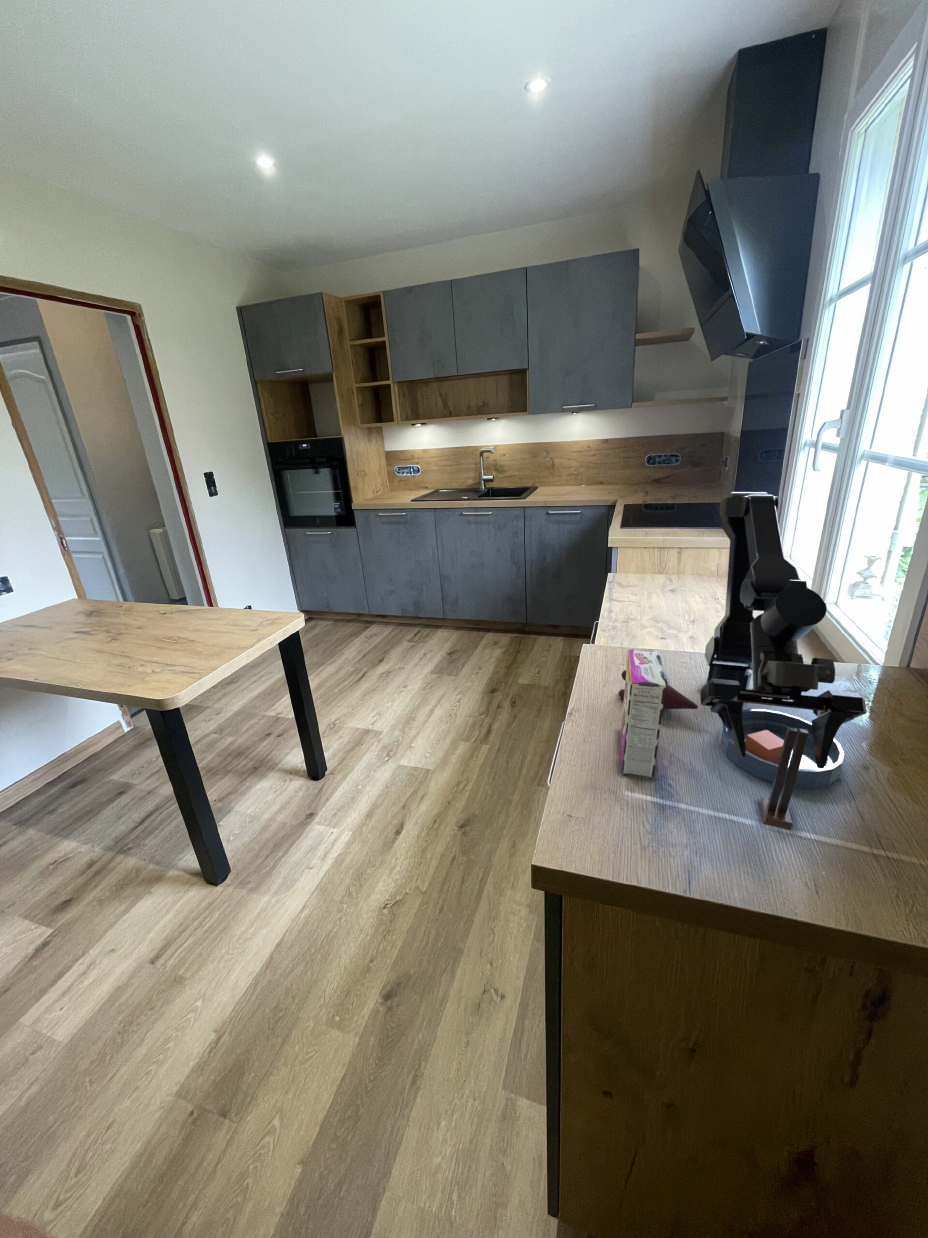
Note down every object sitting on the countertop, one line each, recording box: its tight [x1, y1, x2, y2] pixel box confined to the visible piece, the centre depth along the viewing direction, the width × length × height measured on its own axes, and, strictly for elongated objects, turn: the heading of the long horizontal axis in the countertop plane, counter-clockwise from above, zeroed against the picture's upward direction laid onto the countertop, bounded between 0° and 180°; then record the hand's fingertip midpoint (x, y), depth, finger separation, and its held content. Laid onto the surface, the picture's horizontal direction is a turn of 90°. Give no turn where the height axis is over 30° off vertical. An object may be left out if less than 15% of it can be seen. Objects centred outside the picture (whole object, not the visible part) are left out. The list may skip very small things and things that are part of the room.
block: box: [745, 730, 784, 765], centre depth 75 cm, size 4×4×4 cm
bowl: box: [718, 708, 846, 790], centre depth 77 cm, size 16×16×4 cm
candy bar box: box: [620, 648, 666, 778], centre depth 75 cm, size 11×5×16 cm, turn 164°
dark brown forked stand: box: [760, 727, 809, 831], centre depth 63 cm, size 4×3×14 cm
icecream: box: [617, 669, 699, 710], centre depth 89 cm, size 7×7×15 cm
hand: (781, 762), depth 65 cm, fingers open, 9 cm apart
